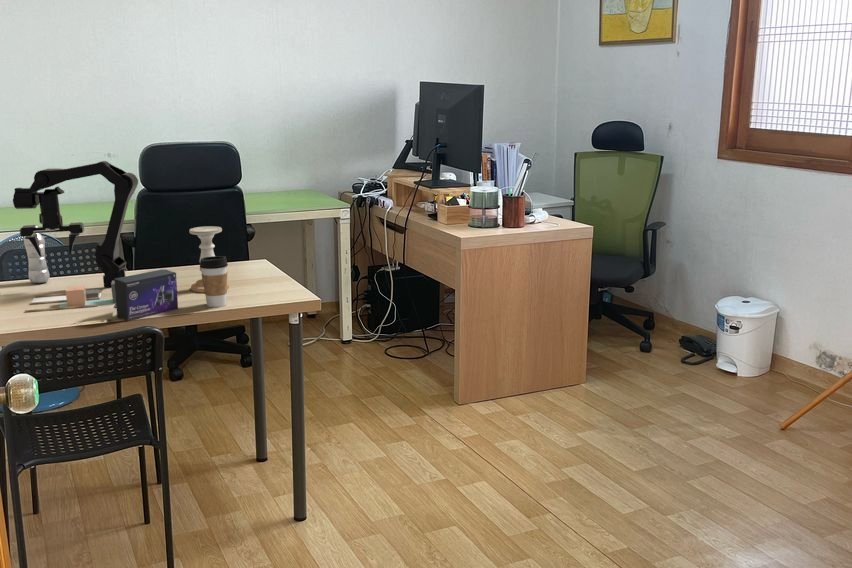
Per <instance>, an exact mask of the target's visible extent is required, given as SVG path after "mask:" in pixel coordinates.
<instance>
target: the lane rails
mask: <svg viewBox="0 0 852 568" xmlns="http://www.w3.org/2000/svg"><path fill="white" fill-rule="evenodd" d="M99 293H101V294H102V290H100V289H99ZM54 296H66V292H63V293H52V294H51V293H50V294H49V293H48V294H39V295H34V296H33V299H34V298H41V297H54ZM100 298H101V296H100V297H95V298H86V300H87V301H89V300H101V299H100ZM64 302H67V300H58V301H45V302H33V303H31V302H29V306H34V305H35V306H36V305H37V306H38V305H47V304H50V305H51V304H61V303H64ZM96 307H98V305H97V304H96V305H84V306H71V307H59V306H58V307H51V308H49V307H48V308H37V309H36V308H35V309H26V310H24V313H28V314H29V313H38V312H50V311H52V312H53V311H63V310H75V309H85V308H86V309H87V308H89V309H90V308H96Z"/></svg>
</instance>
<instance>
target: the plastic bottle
mask: <svg viewBox="0 0 852 568" xmlns="http://www.w3.org/2000/svg"><path fill="white" fill-rule="evenodd" d="M34 225H35V227H40V226H39V225H38V224H34ZM36 234H37V235H38V241H39V245H40V249H41V256H39V254H38V253H37V251H36V249H35V247H34V246H33V244H32V243H31V242H30V240H29V239H25V238H24V240H23V244H24V247H25V251H26V254H27V260H28V280H29V281H30V283H32V282H33V283H32V284H43V283H46V282H48V281H49V280H50V272H49V268H48V265H47V261H46V250H45V249H46V246H45V245H46V240H45V237H44V236H43V235H42V234H41V233H36Z"/></svg>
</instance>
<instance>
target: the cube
mask: <svg viewBox="0 0 852 568" xmlns="http://www.w3.org/2000/svg"><path fill="white" fill-rule="evenodd" d="M65 293H66V295H65V296H66V298H67V307H71V306H84V305H86V302H87V301H88V300H86V285H79V286H78V285H77V286H67V287H66V289H65Z"/></svg>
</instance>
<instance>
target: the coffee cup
mask: <svg viewBox="0 0 852 568" xmlns="http://www.w3.org/2000/svg"><path fill="white" fill-rule="evenodd" d="M227 261H228V260H227V256H225V255H224V256H220V255H219V256H216V255H215V256H212V257H205V258H202V259H201V260H200V259H199V269H200V268H201V270H202V272H201V279H202V280H203V285H204V291H205V293H204V295H205V302H206V306H207V307H209V308H221V307H224V306H226V305H227V304H228V295H227V293H228V289H227V282H228V271H227V270H228V269H227V267H228V266H229V265H228V262H227Z"/></svg>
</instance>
